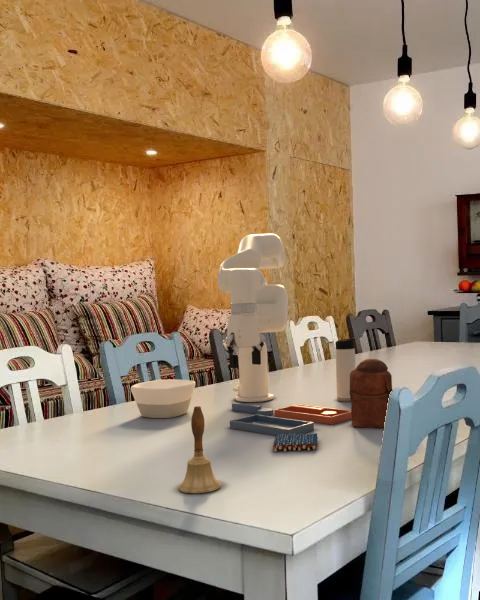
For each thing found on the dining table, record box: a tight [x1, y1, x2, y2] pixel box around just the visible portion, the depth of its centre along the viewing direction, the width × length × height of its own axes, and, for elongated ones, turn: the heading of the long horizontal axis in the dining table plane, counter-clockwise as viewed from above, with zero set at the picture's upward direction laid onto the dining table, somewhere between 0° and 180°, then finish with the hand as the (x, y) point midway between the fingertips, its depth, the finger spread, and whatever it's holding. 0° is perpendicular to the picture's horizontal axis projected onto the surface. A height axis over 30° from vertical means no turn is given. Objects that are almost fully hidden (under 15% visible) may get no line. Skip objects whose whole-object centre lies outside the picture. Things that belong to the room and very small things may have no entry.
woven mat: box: [272, 432, 319, 452], centre depth 173 cm, size 10×11×2 cm
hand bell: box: [178, 405, 222, 494], centre depth 142 cm, size 8×8×16 cm
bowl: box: [130, 379, 196, 419], centre depth 219 cm, size 18×18×9 cm
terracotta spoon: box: [290, 404, 337, 417], centre depth 207 cm, size 16×5×2 cm, turn 50°
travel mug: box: [335, 337, 357, 403], centre depth 232 cm, size 6×7×20 cm
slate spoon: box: [231, 402, 274, 416], centre depth 217 cm, size 16×5×2 cm, turn 50°
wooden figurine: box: [350, 358, 393, 429], centre depth 192 cm, size 12×6×18 cm, turn 75°
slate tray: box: [229, 413, 315, 437], centre depth 193 cm, size 21×10×2 cm, turn 50°
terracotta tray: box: [273, 403, 352, 425], centre depth 207 cm, size 21×10×2 cm, turn 50°
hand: (245, 366), depth 218 cm, fingers open, 9 cm apart
